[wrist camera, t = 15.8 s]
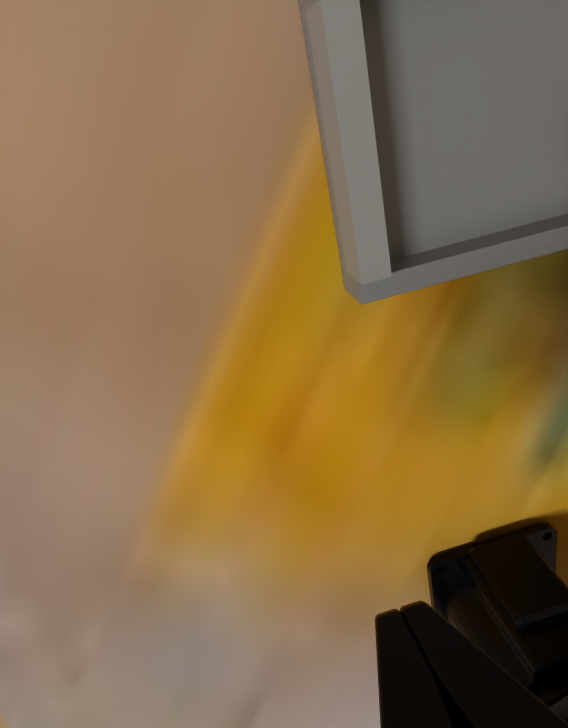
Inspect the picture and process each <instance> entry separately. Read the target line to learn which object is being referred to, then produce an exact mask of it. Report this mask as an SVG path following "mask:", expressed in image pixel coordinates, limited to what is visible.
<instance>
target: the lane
mask: <svg viewBox="0 0 568 728" xmlns="http://www.w3.org/2000/svg"><path fill="white" fill-rule="evenodd" d="M299 6H300V12H301V19H302V25H303V31H304V37H305V44H306V50H307V56H308V62H309V68H310V75H311V81H312V87H313V93H314V100H315V106H316V112H317V118H318V124H319V131H320V137H321V143H322V149H323V156H324V162H325V168H326V174H327V181H328V187H329V193H330V199H331V205H332V212H333V218H334V224H335V230H336V237H337V243H338V249H339V255H340V261H341V268H342V274H343V280H344V286H345V289H346V290H347V291H348V292H349V293H350V294H351V295H352V296H353V297H354V298H355V299H356V300H357V301H358V302H359V303H360V304H365V303H369V302H372V301H376V300H380V299H384V298H387V297H391V296H395V295H398V294H402V293H406V292H409V291H413V290H417V289H421V288H424V287H428V286H432V285H435V284H439V283H443V282H447V281H450V280H454V279H458V278H461V277H465V276H469V275H472V274H476V273H480V272H484V271H487V270H491V269H495V268H498V267H502V266H506V265H509V264H513V263H517V262H521V261H524V260H528V259H532V258H535V257H539V256H543V255H547V254H550V253H554V252H558V251H561V250H565V249H568V0H299Z"/></svg>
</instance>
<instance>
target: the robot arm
mask: <svg viewBox="0 0 568 728" xmlns="http://www.w3.org/2000/svg"><path fill="white" fill-rule="evenodd" d="M556 545H557V532H556V530H555V529H554V528H553V527H552V526H551V525H550V524H549V523H541V524H538V525H535V526H531V527H528V528H525V529H522V530H519V531H516V532H513V533H509V534H506V535H503V536H500V537H497V538H494V539H491V540H487V541H484V542H481V543H478V544H475V545H472V546H468V547H465V548H462V549H459V550H456V551H453V552H450V553H446V554H443V555H440V556H437V557H435V558H432V559H431V560H430V561H429V562H428V564H427V572H428V581H429V589H430V598H431V606H432V607H431V606H429V605H428V604H427V603H425V602H424V601H417V602H414V603H411V604H408V605H404V606H402V607H401V608H400V611H399V610H398V609H392V610H389V611H386V612H383V613H380V614H377V615H376V617H375V630H376V649H377V668H378V686H379V705H380V724H381V728H568V587H567V586H566V584H565V583H564V582H563V581H562V580H561V579H560V577H559V576H558V575H557V574H556Z"/></svg>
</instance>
